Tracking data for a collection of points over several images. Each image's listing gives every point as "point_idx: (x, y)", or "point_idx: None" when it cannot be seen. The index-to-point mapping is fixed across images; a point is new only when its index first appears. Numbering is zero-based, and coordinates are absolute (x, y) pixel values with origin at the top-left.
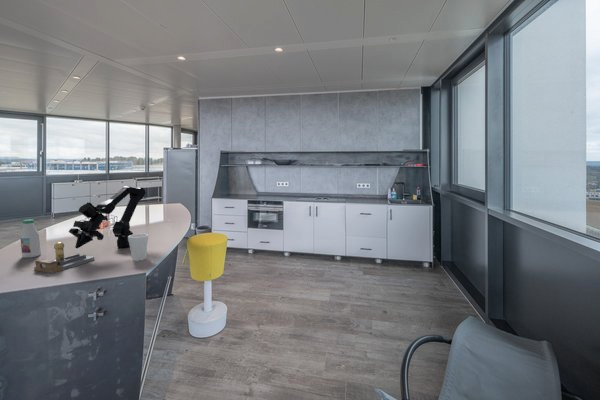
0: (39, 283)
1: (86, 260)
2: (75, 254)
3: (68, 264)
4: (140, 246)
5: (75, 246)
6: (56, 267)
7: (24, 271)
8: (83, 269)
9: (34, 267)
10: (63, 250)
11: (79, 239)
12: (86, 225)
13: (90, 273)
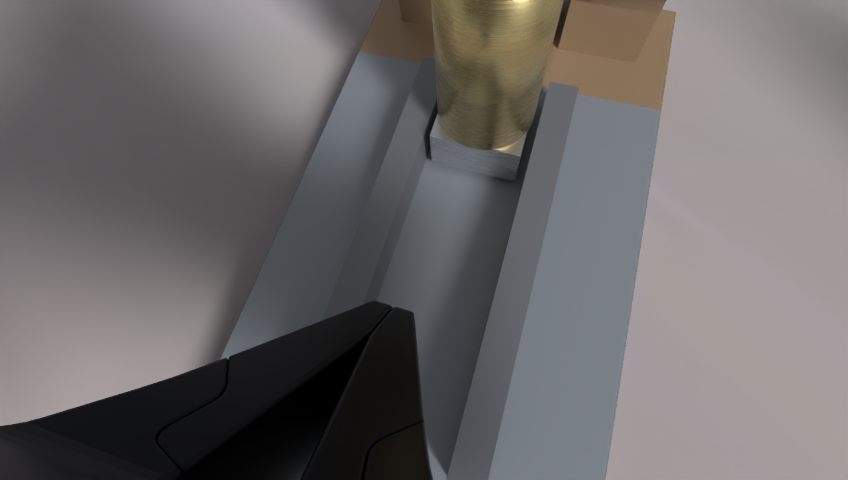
0: None
1: (245, 323)
2: (491, 428)
3: (352, 116)
4: None
5: (405, 315)
6: (402, 12)
7: (723, 7)
8: (165, 102)
9: (667, 14)
10: (436, 13)
11: (306, 476)
12: None
13: (53, 25)
